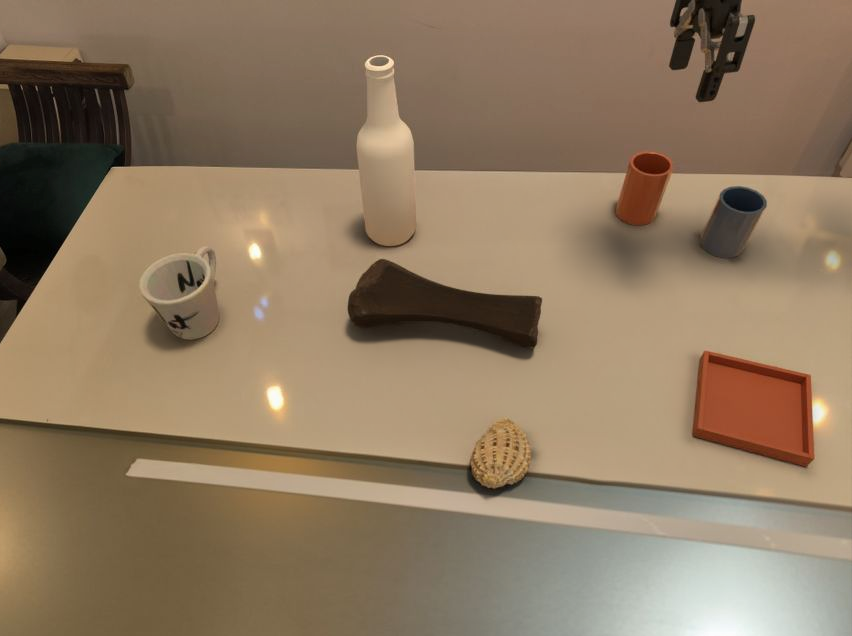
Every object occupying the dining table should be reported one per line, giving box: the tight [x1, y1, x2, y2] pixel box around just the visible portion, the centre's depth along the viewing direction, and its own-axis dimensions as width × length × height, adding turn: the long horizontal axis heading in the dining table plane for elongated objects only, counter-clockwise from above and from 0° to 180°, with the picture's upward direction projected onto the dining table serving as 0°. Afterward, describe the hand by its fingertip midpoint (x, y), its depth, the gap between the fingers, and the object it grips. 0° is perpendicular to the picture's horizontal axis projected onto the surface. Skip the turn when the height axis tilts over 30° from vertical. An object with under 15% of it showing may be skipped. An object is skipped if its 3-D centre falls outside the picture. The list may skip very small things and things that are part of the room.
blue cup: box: [699, 185, 768, 259], centre depth 96 cm, size 7×7×9 cm
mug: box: [138, 245, 220, 341], centre depth 93 cm, size 10×15×10 cm
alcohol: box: [355, 54, 417, 247], centre depth 94 cm, size 9×9×30 cm
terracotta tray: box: [692, 350, 815, 467], centre depth 79 cm, size 13×13×2 cm
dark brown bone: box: [347, 258, 543, 349], centre depth 90 cm, size 11×10×28 cm
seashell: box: [470, 417, 532, 490], centre depth 76 cm, size 8×6×10 cm
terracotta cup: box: [615, 150, 674, 226], centre depth 101 cm, size 7×7×10 cm
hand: (690, 83), depth 77 cm, fingers open, 8 cm apart
